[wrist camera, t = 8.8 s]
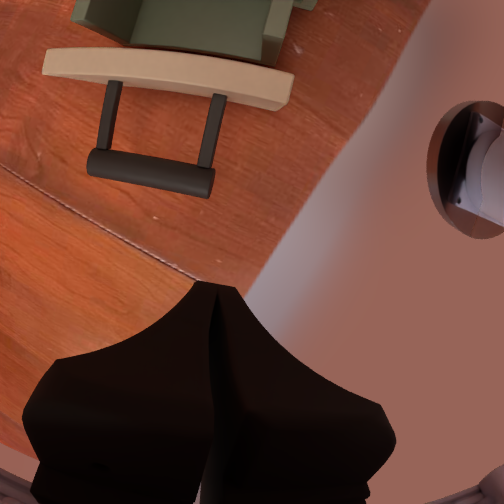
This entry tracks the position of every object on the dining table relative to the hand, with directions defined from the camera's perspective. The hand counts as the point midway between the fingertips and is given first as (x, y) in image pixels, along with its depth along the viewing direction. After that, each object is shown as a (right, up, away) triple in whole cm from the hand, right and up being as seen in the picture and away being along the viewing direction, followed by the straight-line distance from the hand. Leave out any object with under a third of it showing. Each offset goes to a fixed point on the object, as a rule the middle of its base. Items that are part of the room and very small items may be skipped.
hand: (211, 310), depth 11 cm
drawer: (-1, +14, +5) cm, 15 cm away
